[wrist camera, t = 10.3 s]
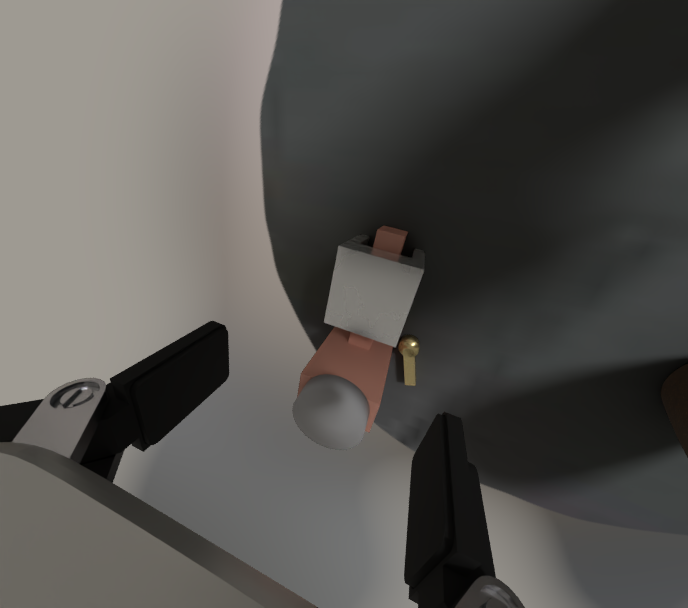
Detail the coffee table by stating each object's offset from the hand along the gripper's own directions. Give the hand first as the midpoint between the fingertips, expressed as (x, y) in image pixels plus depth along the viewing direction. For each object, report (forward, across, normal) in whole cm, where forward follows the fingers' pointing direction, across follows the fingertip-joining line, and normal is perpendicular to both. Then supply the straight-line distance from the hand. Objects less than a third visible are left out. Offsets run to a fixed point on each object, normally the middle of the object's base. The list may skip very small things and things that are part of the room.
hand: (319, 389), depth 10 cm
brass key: (+18, -6, +9) cm, 21 cm away
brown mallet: (+17, 0, +4) cm, 18 cm away
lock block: (+18, 0, 0) cm, 18 cm away
